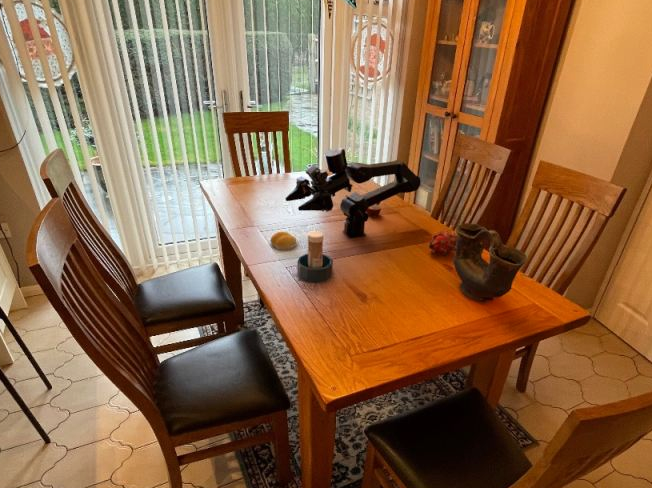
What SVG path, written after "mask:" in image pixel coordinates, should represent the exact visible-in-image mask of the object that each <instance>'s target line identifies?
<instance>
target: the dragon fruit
mask: <svg viewBox="0 0 652 488" xmlns="http://www.w3.org/2000/svg"><path fill="white" fill-rule="evenodd" d="M456 241H457V235H456V232H455V233H454V232H449V231H448V230H445V232H443V231H440V232H438V233H437V234H434V235H432V237H431V240H430V241H429V244H428V248H429V249H430V250H431V251H430V252H431V254H435V255H438V254H443V256H448V255H449V254H450V252H452V253H453V252H455V251H456V250H455V248H456Z"/></svg>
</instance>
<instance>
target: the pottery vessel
mask: <svg viewBox="0 0 652 488" xmlns="http://www.w3.org/2000/svg"><path fill="white" fill-rule="evenodd" d="M454 230H455V234H456V236H457V241H456V246H455V250H456V251H454V252H455V253H454V257H453V258H452V259H453V260H452V264H453V266H454V270H455V272H456V274H457V276H458V277H459V280H460V281H461V283H460V285H459V289H460V292H461V293H462V294H463V295H464V296H465V297H466V298H468V299H470V300H471V301H475V302H476V303H481V304H486V303H487V302H492V301H494V299H495V298H501V297H503V296H506V294H508V293H509V292H510V291H511V290H512V286H513V281H514V280H515V278H516V276H517V274H518V273H519V271H520V270H521V268H522V267H523V266H524V265H525V264H526V262H527V259H528V257H527V255H526V253H524V252H523V251H522V250H521V249H518V248H517V247H513V246H510V245H505V244H503V241H502V239H501V235H500V234H499V233H498V232H497V231H496V230H494V229H490V230H488V228H486V227H484V226H483V225H480V224H477V223H469V222H463V223H462V224H458V225H457V226H455V228H454ZM488 239H489V240H490V242H489V247H488V249H487V250H488V252H489V253H488V254H489V262H488V261H487V260H486V259H485V258H483V256H482V255H483V252H484V250H485V249H484V248H485V246H486V243H487V240H488Z"/></svg>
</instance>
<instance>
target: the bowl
mask: <svg viewBox="0 0 652 488" xmlns="http://www.w3.org/2000/svg"><path fill="white" fill-rule="evenodd" d="M296 263H297V268H296V269H297V276H298V277H299V279H300V280H302V281H304V282H307V283H312V284H313V283H315V284H316V283H317V284H318V283H324V282H327V281H329V280H330V279H332V277H333V274H334V273H333V271H334V260H333V258H332V257H331V256H329V255H327V254H325V253H323V264H322V268H318V269H316V268H308V253H305V254H303V255H301V256H299V257H298V259H297V261H296Z"/></svg>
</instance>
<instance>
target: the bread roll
mask: <svg viewBox="0 0 652 488" xmlns="http://www.w3.org/2000/svg"><path fill="white" fill-rule="evenodd" d="M297 242H298V241H297V238H296V237H295V236H294V235H292V234H290V233H289V232H288V231H284V230H283V231H281V230H280V231H277V232H276V233H273V235H272V236H271V237H270V243H271V245H273V246H274V247H275V248H276V249H278V250H290V249H293V248H295V247H296V246H297Z"/></svg>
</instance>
